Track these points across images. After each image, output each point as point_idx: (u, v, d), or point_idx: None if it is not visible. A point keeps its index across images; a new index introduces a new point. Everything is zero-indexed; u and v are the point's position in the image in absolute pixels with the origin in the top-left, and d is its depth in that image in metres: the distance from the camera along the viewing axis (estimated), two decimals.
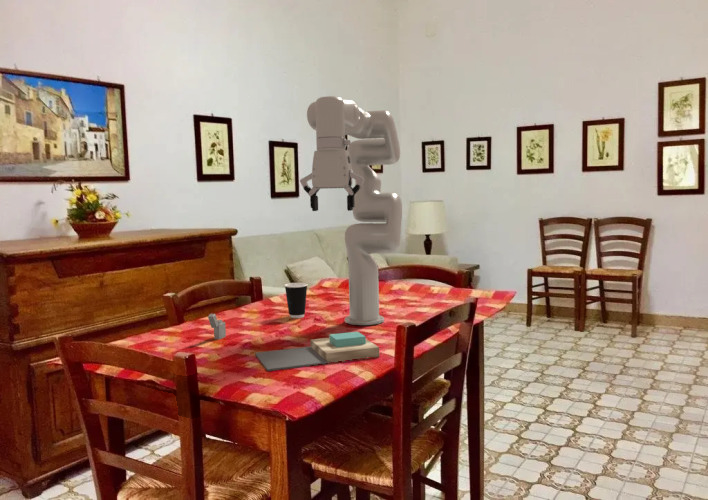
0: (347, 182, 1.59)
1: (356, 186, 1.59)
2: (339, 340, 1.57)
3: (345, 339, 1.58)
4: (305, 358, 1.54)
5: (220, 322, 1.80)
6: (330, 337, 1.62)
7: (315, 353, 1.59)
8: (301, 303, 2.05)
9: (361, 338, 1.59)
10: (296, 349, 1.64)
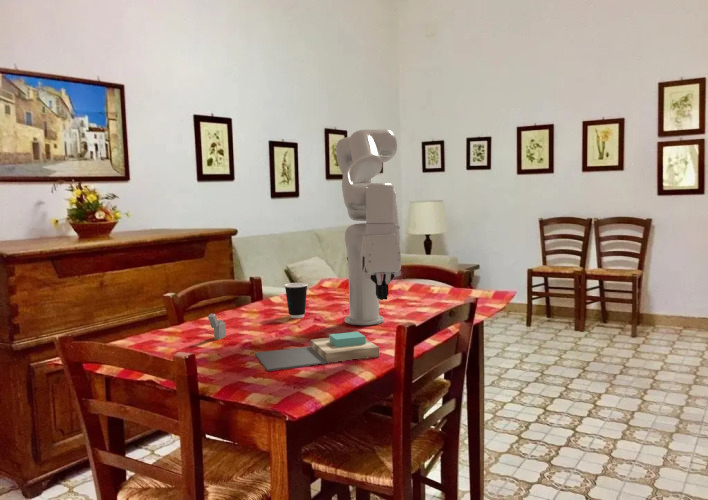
0: (400, 266, 1.62)
1: (391, 275, 1.63)
2: (339, 340, 1.57)
3: (345, 339, 1.58)
4: (305, 358, 1.54)
5: (220, 322, 1.80)
6: (330, 337, 1.62)
7: (315, 353, 1.59)
8: (301, 303, 2.05)
9: (361, 338, 1.59)
10: (296, 349, 1.64)
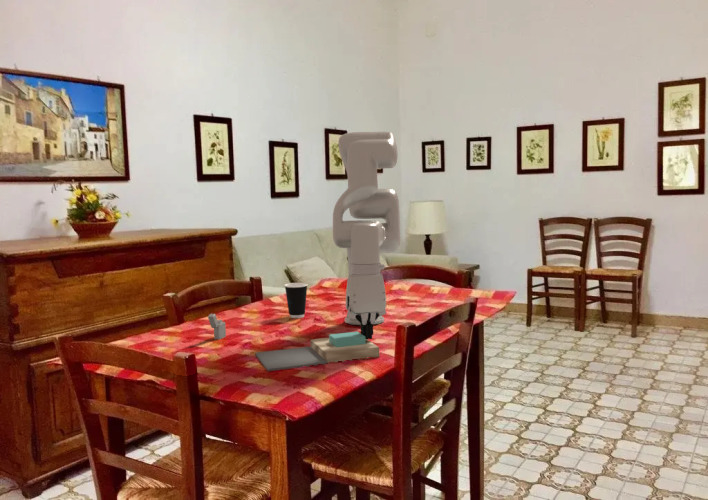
0: (385, 306, 1.62)
1: (376, 314, 1.63)
2: (339, 340, 1.57)
3: (345, 339, 1.58)
4: (305, 358, 1.54)
5: (220, 322, 1.80)
6: (329, 337, 1.62)
7: (315, 353, 1.59)
8: (301, 303, 2.05)
9: (361, 338, 1.59)
10: (296, 349, 1.64)
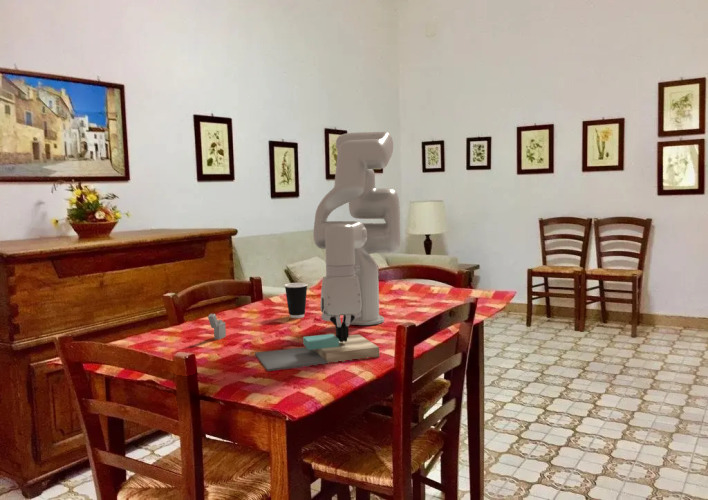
0: (360, 308, 1.60)
1: (352, 317, 1.60)
2: (311, 343, 1.56)
3: (318, 342, 1.56)
4: (305, 358, 1.54)
5: (220, 322, 1.80)
6: (303, 339, 1.60)
7: (315, 353, 1.59)
8: (301, 303, 2.05)
9: (334, 341, 1.57)
10: (296, 349, 1.64)
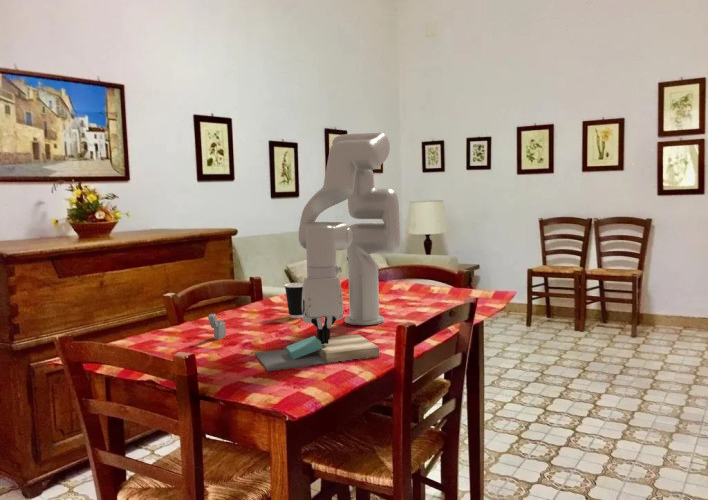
0: (342, 310, 1.58)
1: (333, 319, 1.59)
2: (294, 352, 1.54)
3: (300, 349, 1.54)
4: (305, 358, 1.54)
5: (220, 322, 1.80)
6: None
7: (315, 353, 1.59)
8: (301, 303, 2.05)
9: (316, 344, 1.56)
10: None
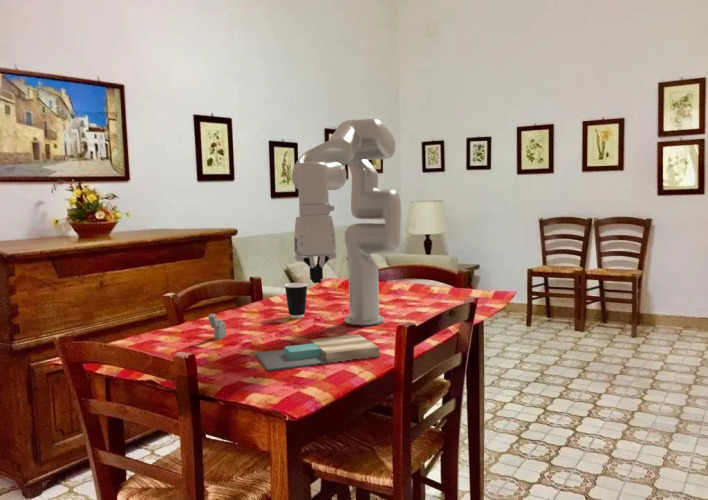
0: (335, 248, 1.57)
1: (326, 258, 1.57)
2: (293, 353, 1.54)
3: (299, 352, 1.54)
4: (305, 358, 1.54)
5: (220, 322, 1.80)
6: (285, 349, 1.59)
7: None
8: (301, 303, 2.05)
9: (316, 350, 1.56)
10: None
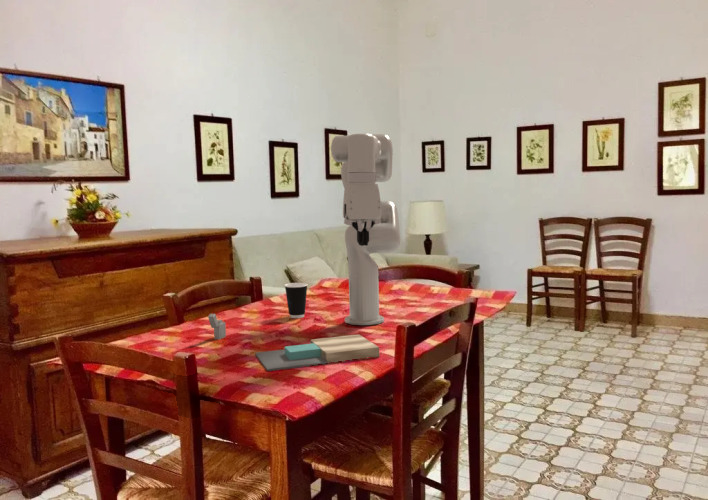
0: (380, 214, 1.71)
1: (372, 222, 1.71)
2: (293, 353, 1.54)
3: (299, 352, 1.54)
4: (305, 358, 1.54)
5: (220, 322, 1.80)
6: (285, 349, 1.59)
7: None
8: (301, 303, 2.05)
9: (316, 350, 1.56)
10: None
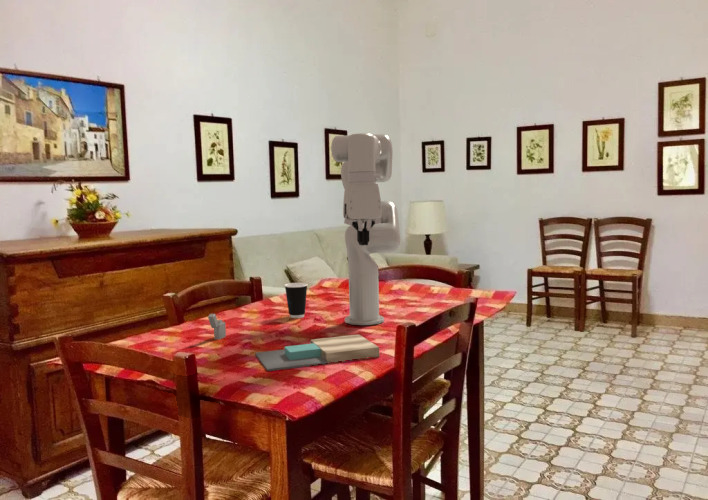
0: (380, 214, 1.71)
1: (372, 222, 1.71)
2: (293, 353, 1.54)
3: (299, 352, 1.54)
4: (305, 358, 1.54)
5: (220, 322, 1.80)
6: (285, 349, 1.59)
7: None
8: (301, 303, 2.05)
9: (316, 350, 1.56)
10: None
